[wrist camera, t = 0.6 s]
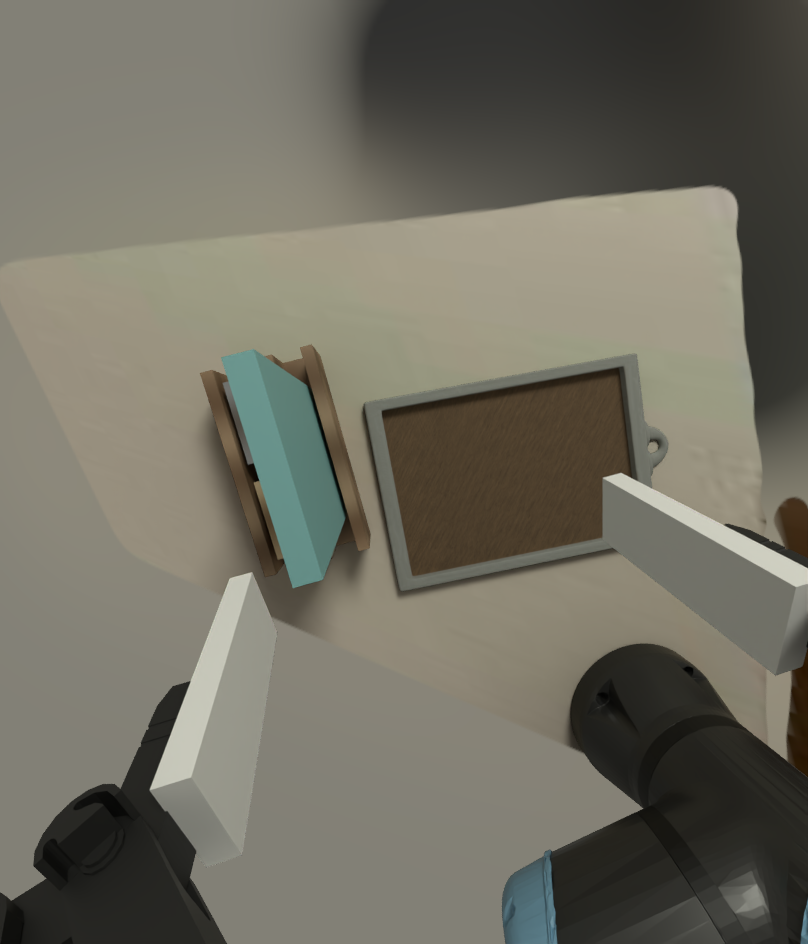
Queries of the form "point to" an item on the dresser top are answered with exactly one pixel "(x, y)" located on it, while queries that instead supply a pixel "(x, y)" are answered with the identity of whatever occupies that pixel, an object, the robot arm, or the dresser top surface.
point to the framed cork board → (507, 467)
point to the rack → (246, 475)
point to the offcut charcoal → (238, 422)
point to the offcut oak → (268, 520)
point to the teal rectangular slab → (289, 462)
